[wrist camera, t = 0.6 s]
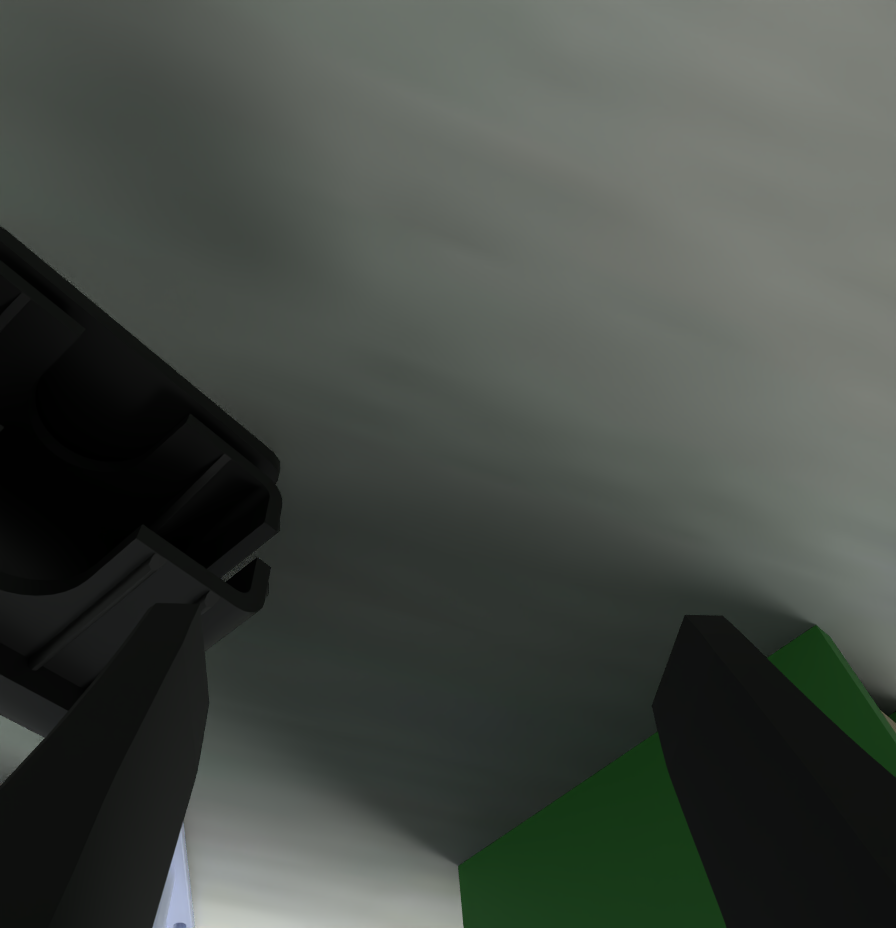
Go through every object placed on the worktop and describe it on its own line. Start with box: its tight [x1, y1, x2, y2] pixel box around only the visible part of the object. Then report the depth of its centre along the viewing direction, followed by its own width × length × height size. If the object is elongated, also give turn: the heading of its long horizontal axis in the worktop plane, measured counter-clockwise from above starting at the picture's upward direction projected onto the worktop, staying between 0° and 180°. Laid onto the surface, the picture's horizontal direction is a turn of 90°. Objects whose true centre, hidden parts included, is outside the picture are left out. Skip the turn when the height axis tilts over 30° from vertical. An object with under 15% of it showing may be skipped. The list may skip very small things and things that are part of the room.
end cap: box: [0, 227, 282, 737], centre depth 17 cm, size 10×7×7 cm
